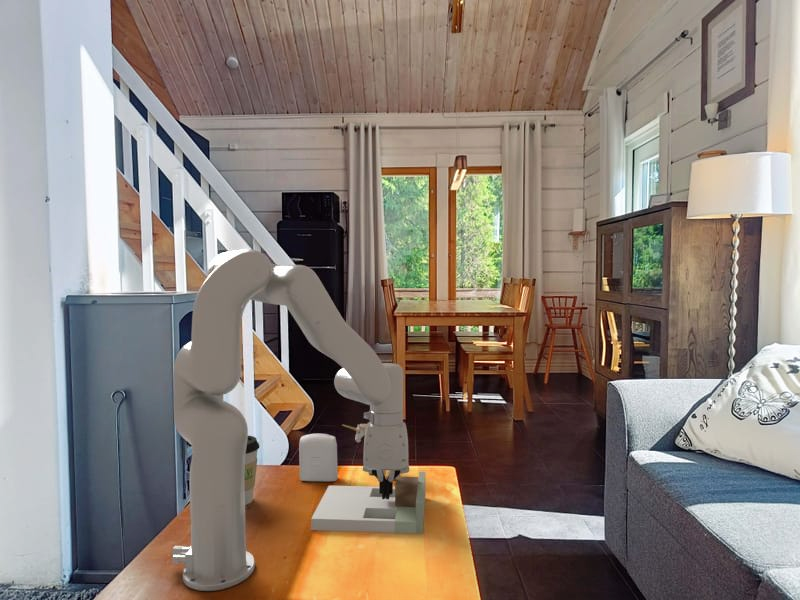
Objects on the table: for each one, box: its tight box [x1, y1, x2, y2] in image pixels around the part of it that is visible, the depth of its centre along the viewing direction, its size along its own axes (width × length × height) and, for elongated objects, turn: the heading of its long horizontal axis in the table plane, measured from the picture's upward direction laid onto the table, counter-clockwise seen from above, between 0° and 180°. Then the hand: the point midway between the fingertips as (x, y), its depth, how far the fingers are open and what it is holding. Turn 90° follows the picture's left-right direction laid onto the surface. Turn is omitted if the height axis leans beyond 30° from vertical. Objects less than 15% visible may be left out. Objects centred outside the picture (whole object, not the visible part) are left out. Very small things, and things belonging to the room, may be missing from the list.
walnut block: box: [394, 476, 419, 507], centre depth 121 cm, size 5×5×5 cm
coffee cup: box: [244, 435, 260, 506], centre depth 127 cm, size 10×10×15 cm
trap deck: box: [310, 471, 426, 535], centre depth 121 cm, size 24×18×6 cm
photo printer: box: [298, 433, 339, 482], centre depth 141 cm, size 10×4×12 cm, turn 85°
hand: (386, 496), depth 121 cm, fingers closed
